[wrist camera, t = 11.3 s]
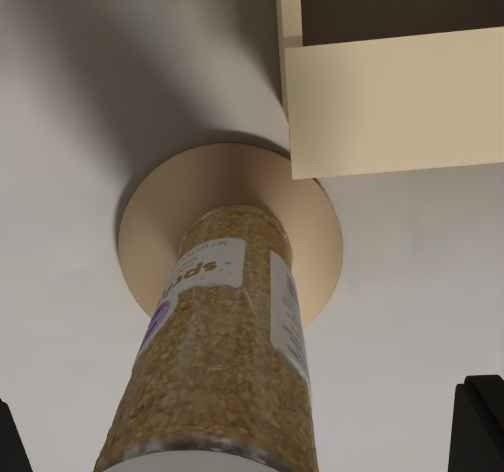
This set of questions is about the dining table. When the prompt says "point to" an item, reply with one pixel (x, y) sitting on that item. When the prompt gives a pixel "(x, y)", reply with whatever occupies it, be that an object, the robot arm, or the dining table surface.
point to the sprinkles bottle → (220, 360)
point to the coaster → (231, 193)
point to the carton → (391, 100)
